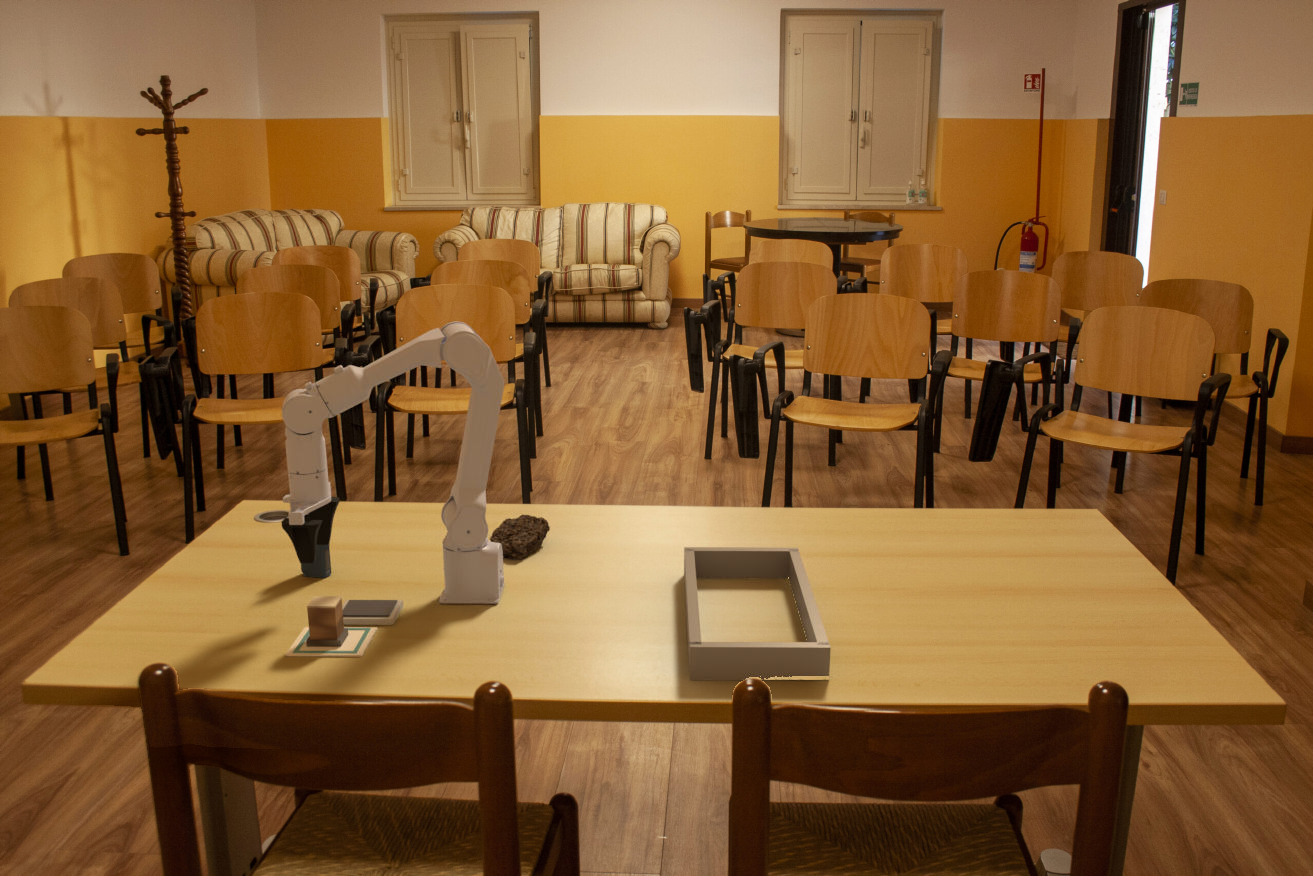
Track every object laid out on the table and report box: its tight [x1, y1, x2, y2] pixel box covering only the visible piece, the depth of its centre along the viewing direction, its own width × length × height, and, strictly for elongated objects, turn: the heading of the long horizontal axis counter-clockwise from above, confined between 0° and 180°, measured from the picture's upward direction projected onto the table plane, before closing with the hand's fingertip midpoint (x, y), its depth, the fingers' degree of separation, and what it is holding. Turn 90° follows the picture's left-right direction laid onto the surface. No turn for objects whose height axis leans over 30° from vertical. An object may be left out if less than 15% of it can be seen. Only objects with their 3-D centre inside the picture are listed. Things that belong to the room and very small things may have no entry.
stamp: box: [306, 595, 348, 647], centre depth 161 cm, size 5×4×6 cm
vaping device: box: [300, 541, 332, 579], centre depth 185 cm, size 3×5×12 cm, turn 78°
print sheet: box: [285, 626, 379, 658], centre depth 162 cm, size 11×9×1 cm
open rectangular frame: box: [683, 546, 832, 681], centre depth 169 cm, size 19×37×5 cm, turn 0°
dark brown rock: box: [489, 514, 551, 560], centre depth 199 cm, size 12×10×5 cm
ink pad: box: [342, 599, 404, 626], centre depth 171 cm, size 9×7×1 cm
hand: (315, 553), depth 170 cm, fingers open, 7 cm apart
